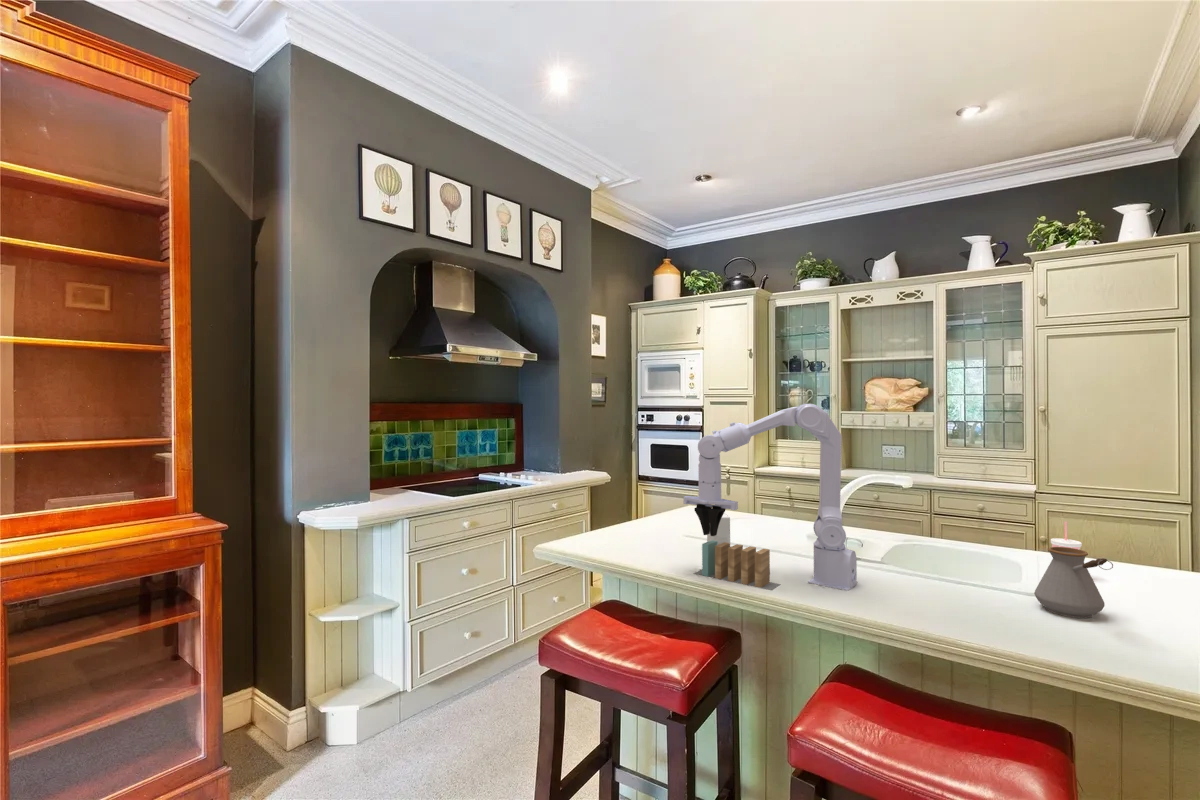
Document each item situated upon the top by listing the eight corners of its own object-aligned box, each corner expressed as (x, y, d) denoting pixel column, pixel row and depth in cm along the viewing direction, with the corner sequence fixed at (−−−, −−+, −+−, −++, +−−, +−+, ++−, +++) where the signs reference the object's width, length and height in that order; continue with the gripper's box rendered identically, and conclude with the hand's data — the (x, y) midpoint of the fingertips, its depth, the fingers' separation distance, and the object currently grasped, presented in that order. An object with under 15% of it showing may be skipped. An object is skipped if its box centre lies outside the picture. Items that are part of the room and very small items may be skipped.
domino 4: (769, 582, 140) (769, 549, 140) (761, 587, 136) (761, 553, 136) (763, 581, 141) (763, 548, 141) (754, 586, 137) (754, 552, 137)
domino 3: (756, 579, 142) (756, 547, 142) (747, 584, 138) (747, 551, 138) (750, 578, 143) (749, 546, 143) (741, 583, 139) (741, 550, 139)
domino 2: (742, 577, 144) (742, 545, 144) (734, 581, 140) (733, 549, 140) (736, 575, 145) (736, 544, 145) (727, 580, 141) (727, 548, 141)
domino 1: (730, 574, 146) (729, 543, 146) (720, 579, 142) (720, 546, 142) (724, 573, 147) (724, 542, 147) (715, 577, 143) (715, 545, 143)
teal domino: (717, 572, 148) (717, 541, 148) (707, 576, 145) (707, 544, 145) (712, 570, 149) (712, 540, 150) (702, 575, 146) (702, 543, 146)
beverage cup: (1072, 581, 141) (1072, 524, 141) (1045, 574, 146) (1044, 519, 146) (1087, 578, 143) (1087, 522, 143) (1060, 572, 149) (1059, 518, 149)
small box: (730, 553, 168) (730, 517, 168) (711, 553, 168) (711, 517, 168) (725, 546, 176) (725, 512, 176) (706, 546, 176) (706, 512, 176)
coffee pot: (1025, 599, 128) (1025, 532, 128) (1088, 605, 124) (1087, 536, 124) (1069, 637, 108) (1069, 557, 108) (1146, 645, 104) (1145, 562, 104)
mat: (781, 585, 138) (781, 584, 138) (771, 591, 134) (771, 590, 134) (703, 569, 151) (703, 568, 151) (692, 574, 147) (692, 573, 147)
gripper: (677, 481, 149) (677, 533, 149) (728, 486, 140) (729, 542, 139) (691, 478, 154) (691, 528, 154) (741, 482, 145) (741, 536, 145)
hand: (710, 534), depth 147 cm, fingers closed
